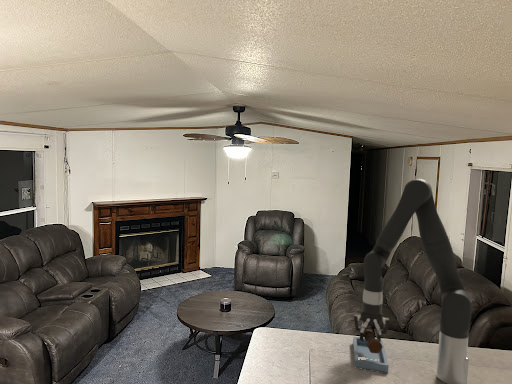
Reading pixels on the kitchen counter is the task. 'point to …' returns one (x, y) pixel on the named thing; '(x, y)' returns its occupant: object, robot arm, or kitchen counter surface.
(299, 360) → the kitchen counter surface
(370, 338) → the bolt
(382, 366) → the parts tray
